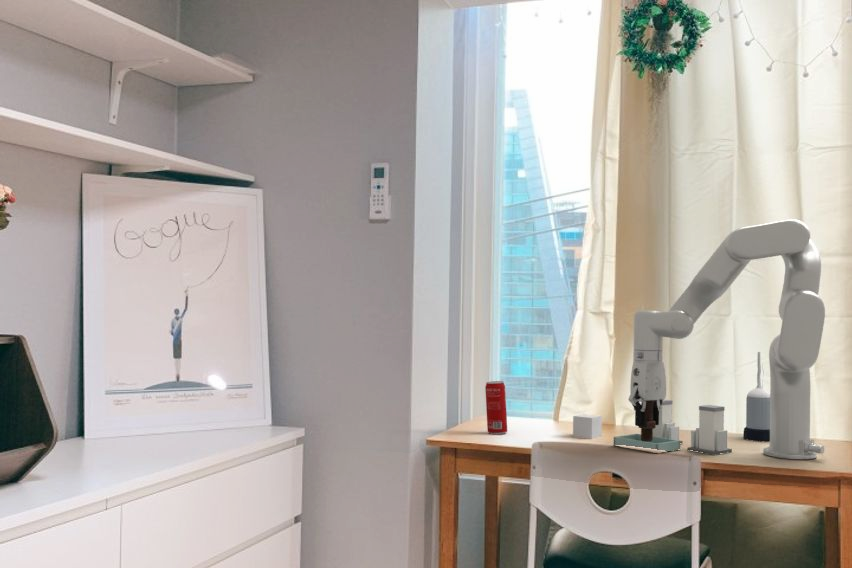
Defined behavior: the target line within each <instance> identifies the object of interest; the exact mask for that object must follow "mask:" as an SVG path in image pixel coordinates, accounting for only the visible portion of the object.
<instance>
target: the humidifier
mask: <svg viewBox="0 0 852 568" xmlns="http://www.w3.org/2000/svg"><path fill="white" fill-rule="evenodd" d="M761 373H762V376H764V374H765V372H764V370H762V366H761V351H757V374H756V384H757V385H756V387H755V388H752V389H751V390H749V392H748V393H747V395H746V398H745V399H746V400H745V401H746V404H745V405H746V406H745V407H746V412H745V414H746V417H745V421H746V423H745V427H744V428H743V435H742V436H743V437H742V438H743V439H744V440H746V439H748V440H747V441H751V440H753V441H752V442H762V441H764V442H763V443H766V442H769V443H770V391H767V390H766V389H764V388H763V387H764V385H762V384H761Z"/></svg>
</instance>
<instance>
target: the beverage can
mask: <svg viewBox="0 0 852 568" xmlns="http://www.w3.org/2000/svg"><path fill="white" fill-rule="evenodd" d="M484 388H485V407H486V427H487V433H488V434H489V433H490V435H502V434H503V435H504V434H506V433H508V419H507V417H508V416H507V399H506V398H507V397H506V385H505V382H504V381H502V380H500V381H499V380H495V381H494V380H493V381H492V380H491V381H487V382H486V384H485V387H484Z"/></svg>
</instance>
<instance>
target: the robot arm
mask: <svg viewBox="0 0 852 568" xmlns="http://www.w3.org/2000/svg"><path fill="white" fill-rule="evenodd" d="M778 256H781V258H782V260H783V263H784V268H785V269H784V276H783V277H784V279H783V285H782V291H781V296H780V301H779V304H778V315H779V317H780V319H781V328H780V333H779V334H778V335H776V337H774V338H773V340H772V341H771V343H770V346H769V351H768V359H769V360H768V362H769V374H770V377H769V381H770V386H769V389H770V391H769V394H770V441H769V446H768V447H764V448H763V454H764V455H766V456H770V457H774V458H778V459H779V458H780V459H788V460H789V459H790V460H811V459H815V458H816V457H817V454H821V455H823V454H824V453H825V446H824V445H821V444H816V443H815V438H811V371H810V369H811V368H812V367H813V366H814V365H815V364H816V362H817V360H818V357H819V353H820V348H821V342H822V337H823V332H824V325H825V318H826V308H825V303H824V302H823V299H822V298H821V297H820V296H819V290H820V284H821V282H820V281H821V276H822V275H821V274H822V260H821V256H820V253H819V251H818V248H817V247H816V245H815V243H814V242H813V241H812V240H811V231H810V229H809V227H808V225H806V224H805V223H804V222H803V221H801V220H797V219H793V218H792V219H786V220H780V221H773V222H769V223H764V224H756V225H751V226H745V227H740V228H737V229H735V230H734V231H731V232H730V233H729V234H728V235H727V236H726V237H725V238H724V240H723V241H722V242H721V243H720V245H718V247H717V248H716V250H715V251H714V252H713V253H712V255H711V256H710V257H709V258H708V260H707V261H706V262H705V264H704V265H703V266H702V267H701V268H700V270H699V271H698V272H697V274H695V276H694V277H693V279H692V281H691V282H690V283H689V285H688V286H687V288H686V289H685V290H684V291H683V292H682V294H681V295H680V296H679V297H678V298H677V300H676V301H675V302H674V303H673V305H672V306H671V307H670V308H669V310H668V311H659V310H637V311H635V313H634V314H633V356H632V357H633V360H632V366H631V374H630V387H629V390H630V395H629V397H628V402H629V403H630V404H631V405H632V407H633V411H634V414H635V415H634V416H635V418H634V419H635V420H634V426H636V427H638V426H641V427H646V412H645V406H646V401H649V400H653V401H654V402H653V420H654V421H655V423H656V424H655V425H659V410H660V408H661V407H660V406H661V404H662V401H663V400H666V397H667V380H666V379H667V376H666V369H665V368H666V367H665V363H664V361H663V353H664V352H663V348H664V347H663V346H664V345H663V344H664V343H663V341H664V339H663V338H669V339H674V340H675V339H676V340H682V339H686V338H687V337H689V336H690V335H691V334H692V332H693V330H694V325H695V323H696V322H697V321H698V319H700V317H702V315H703V313H704V312H705V311H706V310H708V308H709V307H710V306H711V305H712V304H713V303H714V302H716V301H717V300H718V299H720V297H722V296H723V295H724V294H725V293H726V292H727V291H728V290H729V288H730V287H731V286H732V284H733V283H734V282H735V281H736V279H737V278H738V277H739V276H740V274H741V273H742V272H743V271H744V269H746V267H747V265H748V264H749V263H750V262H751V261H752V260H760V259H766V258H774V257H778ZM641 398H643V399H641ZM641 403H642V404H641Z"/></svg>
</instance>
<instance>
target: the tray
mask: <svg viewBox="0 0 852 568" xmlns="http://www.w3.org/2000/svg"><path fill="white" fill-rule="evenodd" d="M652 437H653V440H652V441H649V442H646V441H641V433H632V434H625V435H619V436H613V446H614V445H626V446H635V447H643V448H651V449H657V450H665V451H672V452H674V451H673V450H678V449H680V450H681V444H680V441H681V440H680V439H679V440H673V439H667V438H661V437H655V436H652ZM678 451H679V450H678Z"/></svg>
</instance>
